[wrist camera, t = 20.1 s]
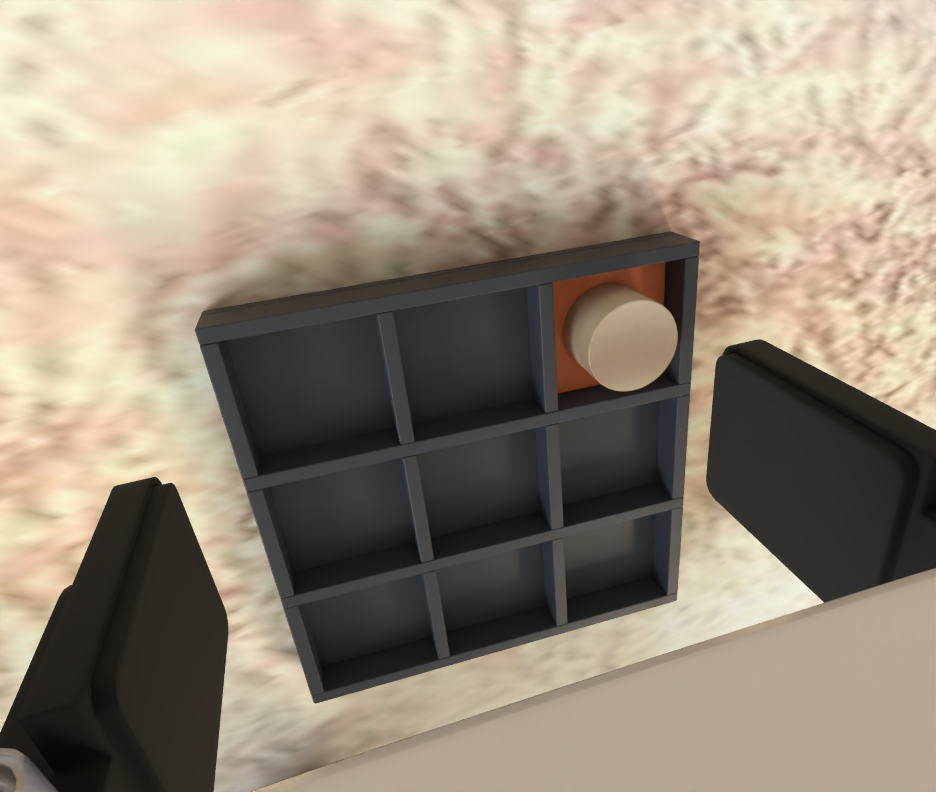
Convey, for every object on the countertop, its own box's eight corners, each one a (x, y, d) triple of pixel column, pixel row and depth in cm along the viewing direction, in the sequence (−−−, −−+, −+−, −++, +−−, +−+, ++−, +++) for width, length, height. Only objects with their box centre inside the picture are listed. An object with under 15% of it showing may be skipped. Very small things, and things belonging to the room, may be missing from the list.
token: (561, 290, 29) (587, 309, 27) (646, 275, 30) (680, 291, 28) (564, 375, 31) (589, 400, 29) (644, 358, 32) (675, 381, 29)
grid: (202, 311, 27) (194, 329, 24) (672, 231, 30) (700, 240, 28) (312, 669, 36) (314, 704, 34) (656, 574, 40) (677, 601, 38)
